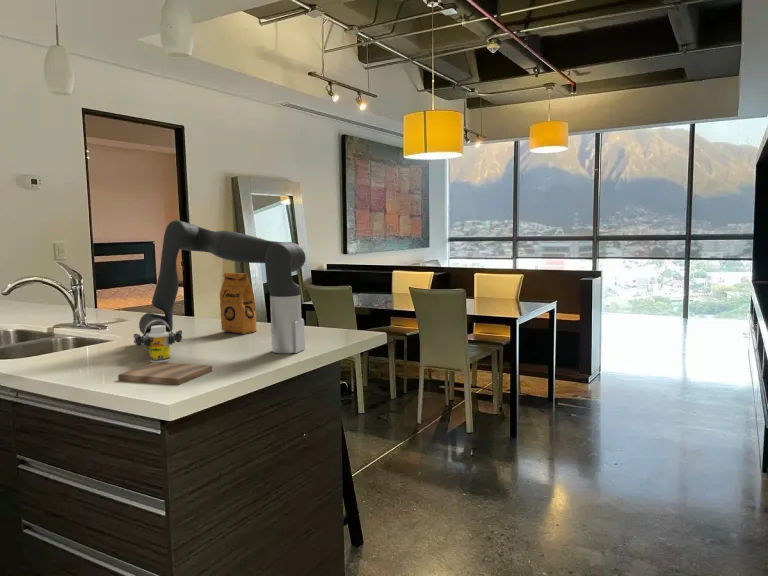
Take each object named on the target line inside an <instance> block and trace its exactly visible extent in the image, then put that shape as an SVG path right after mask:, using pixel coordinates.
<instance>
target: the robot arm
mask: <svg viewBox="0 0 768 576" xmlns="http://www.w3.org/2000/svg"><path fill="white" fill-rule="evenodd" d="M161 248H162V250H161V257H160V267H159V273H158V278H157V282H156V286H155V288H154V293H153V296H152V299H151V305H152V306H153V307H154V308H156V309H158V310H161V311H162V312H163V313H164V315H160V314H155V313H151V312H147V313H145V314H143V315H142V316H141V318H140V320H139V323H138V328H139V330H140V333H141V334H142V335H141V334H140V333H135V334H133V344H135V345H136V346H142V344H143V346H145V347H146V348H149V338H148V335H149V334H150V333H152V332H151V327H152V326H157V325H165V326H166V331H165V332H168V333H169V344H170V346H172V345H173V344H175V342H176V343H180V342H181V341H183V330H181V329H180V330H177V331H175V333H174V331H173V330H174V328H173V327H174V324H173V322H174V320H173V314H174V305H175V302H176V299H177V295H178V292H179V286H180V284H179V283H180V282H179V281H180V280H179V275H178V268H177V259H178V255H179V252H180V250H181V251H188V252H204V253H210V254H211V255H214V256H215V257H217V258H219V259H220V258H221V259H223V260H227V261H232V262H237V263H246V264H247V263H248V264H264V267H265V276H266V277H265V278H266V285H267V288H268V290H269V302H270V306H269V307H270V331H271V351H272V353H275V354H297V353H300V352H301V351H304V350H306V342H305V341H306V340H305V339H306V338H305V336H306V335H305V334H306V333H305V320H304V318H302V302H301V301H302V297H301V295H302V294H301V286H300V285H299V284H297V283H296V282H294V280H293V275H292V273H294V272H296V271H298V270H300V269H301V268H302V267H303V266H304V264H305V263H306V254H305V253H306V252H305V251H304V249H303V248H302V247H301V246H300V245H298V244H297V243H296V242H295V243H294V242H291V241H288V242H285V241H274V240H267V239H264V238H260V237H256V236H253V235H250V234H245V233H242V232H241V233H240V232H237V231H236V232H235V231H231V230H230V231H229V230H218V231H217V230H216V231H214V230H210V229H207V228H203V227H200V226H199V225H196V224H193V223H189V222H186V221H182V220H178V219H177V220H172V221H171V222H169V223H168V225H167V226H166V228H165V231H164V236H163V242H162V247H161Z"/></svg>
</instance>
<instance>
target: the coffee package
mask: <svg viewBox="0 0 768 576" xmlns="http://www.w3.org/2000/svg"><path fill="white" fill-rule="evenodd" d="M223 277H224V279H223V283H222V285H221V289H220V291H219V302H220V303H219V305H220V306H219V309H220V321H221V322H220V323H221V331H223V332H227V333H229V332H230V333H235V334H243V335H245V334H251V333H256V332H257V309H256V302H255V296H254V295H255V294H254V291H253V287H252V285H251V281H250V279H249V277H248V273H246V272H241V273H239V272H238V273H236V272H224V273H223ZM255 331H256V332H255Z"/></svg>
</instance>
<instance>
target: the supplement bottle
mask: <svg viewBox="0 0 768 576" xmlns="http://www.w3.org/2000/svg"><path fill="white" fill-rule="evenodd" d="M165 331H166V326H165V325H157V326H152V327H151V332H152V333H150V334H149V335H148V338H149V347H148V350H149V351H148V353H149V361H150V362H151V363H154V362H161V363H168V362H169V361H170V360H171V347H170V346H171V345H170V344H169V333H168V332H165Z"/></svg>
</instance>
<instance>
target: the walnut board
mask: <svg viewBox="0 0 768 576" xmlns="http://www.w3.org/2000/svg"><path fill="white" fill-rule="evenodd" d="M211 372H213V365H208V364H196V363H195V364H194V363H193V364H192V363H176V362H175V363H174V362H162V363H161V362H154V363H153V362H151V363H149V364H146V365H142V366H140V367H136V368H133V369H130V370H128V371H125V372H124V371H123V372H122V373H119V374H117V379H118V381H122V382H133V383H134V382H135V383H137V382H138V383H150V384H151V383H152V384H165V385H167V384H168V385H177V386H180V385H183V384H184V383H187V382H189V381H191V380H195V379H196V378H200V377H202V376H204V375H206V374H209V373H211Z"/></svg>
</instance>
